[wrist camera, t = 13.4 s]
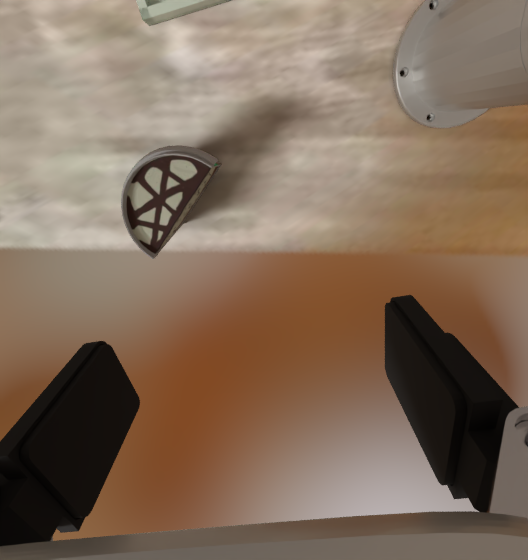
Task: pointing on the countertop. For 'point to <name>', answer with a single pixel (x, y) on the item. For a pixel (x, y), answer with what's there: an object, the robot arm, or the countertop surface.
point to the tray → (171, 8)
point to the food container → (164, 193)
